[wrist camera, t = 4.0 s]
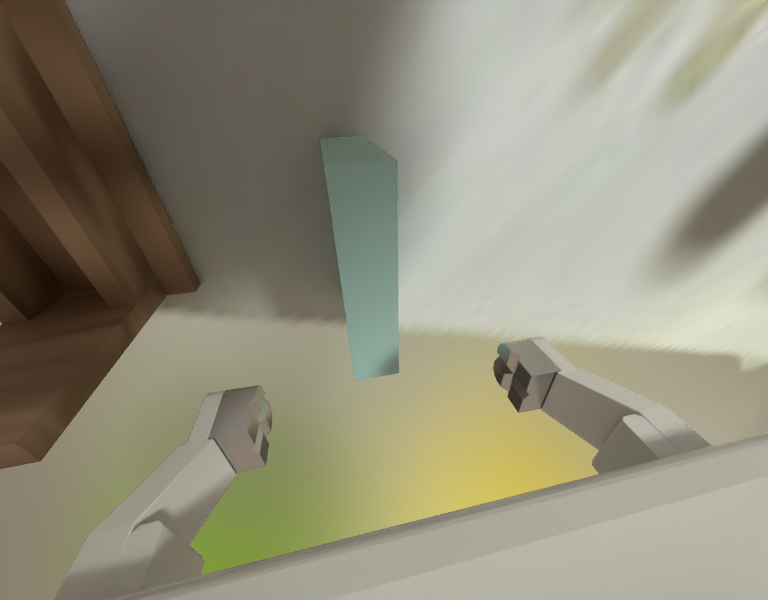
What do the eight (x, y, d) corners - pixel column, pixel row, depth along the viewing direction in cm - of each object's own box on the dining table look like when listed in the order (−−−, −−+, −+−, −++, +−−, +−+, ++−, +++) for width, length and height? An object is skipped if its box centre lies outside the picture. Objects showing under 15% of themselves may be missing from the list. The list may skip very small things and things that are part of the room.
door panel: (319, 138, 17) (323, 166, 10) (361, 135, 17) (396, 160, 10) (342, 293, 23) (355, 381, 16) (372, 289, 23) (398, 372, 16)
